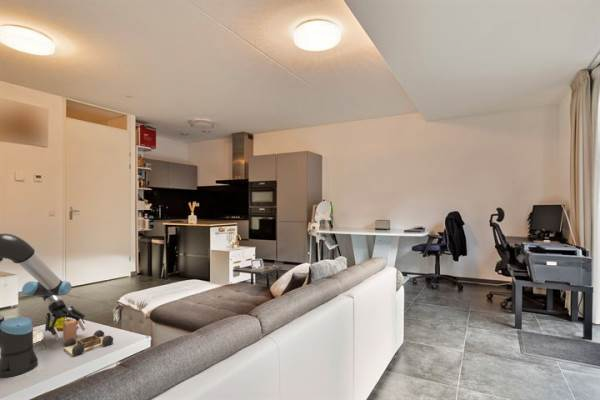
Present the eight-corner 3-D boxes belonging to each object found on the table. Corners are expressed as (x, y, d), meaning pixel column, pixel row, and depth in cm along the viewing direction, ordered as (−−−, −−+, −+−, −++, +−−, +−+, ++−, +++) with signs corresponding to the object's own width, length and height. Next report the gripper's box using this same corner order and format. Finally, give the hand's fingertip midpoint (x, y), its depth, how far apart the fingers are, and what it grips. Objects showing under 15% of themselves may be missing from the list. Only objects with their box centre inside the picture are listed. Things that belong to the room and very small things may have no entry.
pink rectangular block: (66, 346, 179) (65, 324, 179) (63, 343, 182) (62, 322, 182) (76, 342, 183) (76, 321, 183) (73, 340, 186) (73, 319, 186)
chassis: (71, 357, 165) (71, 347, 165) (63, 349, 174) (62, 340, 174) (114, 343, 181) (114, 334, 181) (104, 337, 190) (103, 328, 190)
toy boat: (73, 331, 200) (73, 315, 200) (44, 332, 200) (44, 315, 200) (80, 327, 206) (80, 311, 206) (53, 328, 207) (52, 312, 207)
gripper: (75, 302, 201) (91, 329, 194) (27, 315, 178) (44, 347, 172) (80, 294, 199) (96, 322, 192) (33, 306, 176) (50, 338, 170)
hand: (72, 333), depth 182 cm, fingers open, 13 cm apart
